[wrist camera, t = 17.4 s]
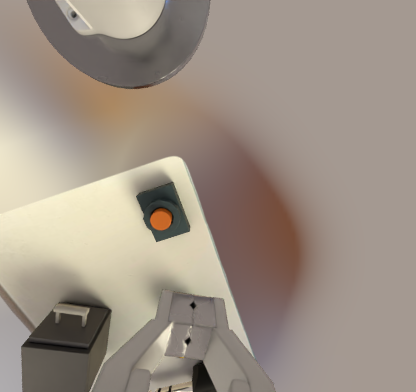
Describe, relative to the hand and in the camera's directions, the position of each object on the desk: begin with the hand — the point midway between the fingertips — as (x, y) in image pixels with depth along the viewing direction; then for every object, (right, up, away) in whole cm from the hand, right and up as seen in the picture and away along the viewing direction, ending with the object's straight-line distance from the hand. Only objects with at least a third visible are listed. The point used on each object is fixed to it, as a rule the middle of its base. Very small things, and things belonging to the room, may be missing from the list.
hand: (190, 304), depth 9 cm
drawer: (-28, -23, +34) cm, 50 cm away
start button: (-7, +1, +26) cm, 27 cm away
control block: (-8, +2, +29) cm, 30 cm away
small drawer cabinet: (-29, -27, +36) cm, 53 cm away
